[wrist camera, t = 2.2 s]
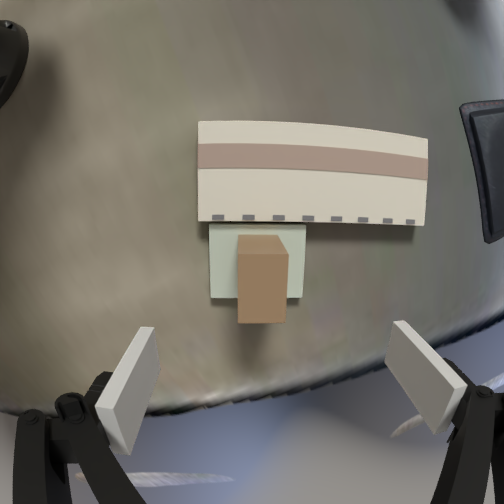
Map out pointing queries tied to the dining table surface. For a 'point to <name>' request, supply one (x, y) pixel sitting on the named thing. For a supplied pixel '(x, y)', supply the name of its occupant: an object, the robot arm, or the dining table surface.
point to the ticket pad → (309, 173)
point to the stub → (257, 267)
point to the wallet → (487, 161)
